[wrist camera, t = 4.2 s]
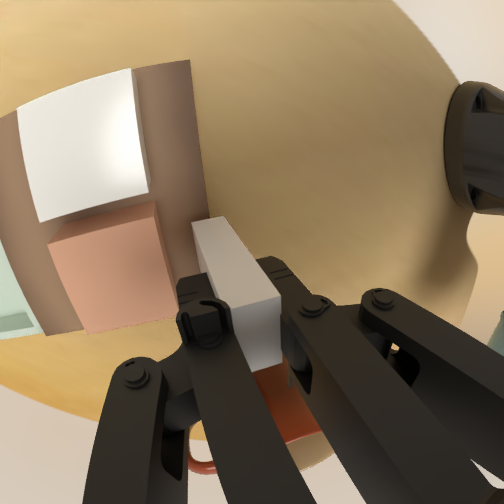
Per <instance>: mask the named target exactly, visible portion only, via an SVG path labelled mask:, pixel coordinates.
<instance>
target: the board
mask: <svg viewBox="0 0 504 504" xmlns="http://www.w3.org/2000/svg"><path fill="white" fill-rule="evenodd" d="M132 71H133V73H134V75H135V76H136V78H137V88H138V97H139V106H140V114H141V121H142V128H143V135H144V142H145V148H146V155H147V160H148V166H149V172H150V177H151V184H150V189H149V193H145V194H140V195H136V196H132V197H128V198H124V199H120V200H116V201H112V202H108V203H105V204H101V205H97V206H94V207H90V208H86V209H83V210H79V211H76V212H73V213H69V214H66V215H63V216H59V217H56V218H53V219H50V220H47V221H44V222H41V223H40V222H39V219H38V216H37V212H36V209H35V205H34V202H33V198H32V194H31V190H30V186H29V182H28V177H27V173H26V168H25V163H24V158H23V152H22V146H21V140H20V133H19V125H18V116H17V110H16V111H14V112H12V113H10V114H8V115H6V116H4V117H2V118H0V240H1V243H2V246H3V248H4V251H5V254H6V256H7V259H8V261H9V264H10V266H11V268H12V271H13V273H14V275H15V278H16V280H17V282H18V284H19V286H20V288H21V290H22V292H23V295H24V297H25V299H26V301H27V302H28V304H29V306H30V308H31V310H32V312H33V314H34V316H35V317H36V319H37V321H38V323H39V325H40V326H41V328H42V330H43V331H44V333H45V335H46V336H50V335H55V334H61V333H67V332H73V331H78V330H83V329H84V327H83V325H82V323H81V321H80V319H79V317H78V315H77V313H76V311H75V309H74V307H73V305H72V303H71V301H70V299H69V297H68V295H67V293H66V290H65V288H64V286H63V284H62V281H61V279H60V277H59V274H58V272H57V269H56V267H55V264H54V262H53V259H52V257H51V254H50V251H49V249H48V246H47V244H48V243H49V241H50V240H51V239H52V238H53V236H54V235H55V234H56V233H57V232H58V230H59V229H60V228H61V227H62V226H63V224H67V223H70V222H74V221H77V220H81V219H84V218H88V217H91V216H95V215H99V214H102V213H106V212H110V211H114V210H118V209H122V208H126V207H130V206H134V205H138V204H142V203H147V202H151V201H155V203H156V208H157V212H158V217H159V222H160V226H161V231H162V235H163V239H164V243H165V247H166V252H167V256H168V260H169V263H170V267H171V271H172V275H173V279H174V282H175V286H176V285H177V283H178V281H179V279H180V278H183V277H187V276H192V275H196V274H200V273H201V271H200V266H199V261H198V256H197V251H196V245H195V240H194V235H193V229H192V224H191V222H196V221H200V220H205V219H210V216H209V209H208V203H207V196H206V189H205V182H204V175H203V168H202V161H201V153H200V146H199V138H198V130H197V121H196V113H195V104H194V95H193V86H192V76H191V66H190V60H184V61H176V62H170V63H163V64H158V65H152V66H147V67H142V68H137V69H133V70H132ZM178 305H179V304H178Z"/></svg>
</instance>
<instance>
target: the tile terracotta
mask: <svg viewBox="0 0 504 504" xmlns="http://www.w3.org/2000/svg"><path fill="white" fill-rule="evenodd" d="M47 246H48V249H49V251H50V254H51V257H52V259H53V262H54V264H55V267H56V269H57V272H58V274H59V277H60V279H61V281H62V284H63V286H64V288H65V290H66V293H67V295H68V297H69V299H70V301H71V303H72V305H73V307H74V309H75V311H76V313H77V315H78V317H79V319H80V321H81V323H82V325H83V327H84V329H85V331H86V333H87V334H93V333H98V332H104V331H109V330H114V329H119V328H124V327H129V326H134V325H139V324H144V323H148V322H153V321H158V320H162V319H167V318H171V317H176V315H177V312H178V311H179V305H178V299H177V293H176V286H175V282H174V279H173V275H172V271H171V267H170V263H169V260H168V256H167V252H166V247H165V243H164V239H163V235H162V231H161V226H160V222H159V217H158V212H157V208H156V203H155V201H151V202H147V203H142V204H138V205H134V206H130V207H126V208H122V209H118V210H114V211H110V212H106V213H102V214H99V215H95V216H91V217H88V218H84V219H81V220H77V221H74V222H70V223H67V224H63V226H62V227H61V228H60V229H59V230H58V232H57V233H56V234H55V235H54V236H53V238H52V239H51V240H50V241H49V243H48V244H47Z"/></svg>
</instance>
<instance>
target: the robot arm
mask: <svg viewBox="0 0 504 504" xmlns="http://www.w3.org/2000/svg"><path fill="white" fill-rule="evenodd" d="M445 163H446V172H447V178H448V183H449V186H450V189H451V192H452V195H453V197H454V198H455V200H456V201H457V203H458V204H459V205H461V206H462V207H464V208H467V209H469V210H471V211H473V212H475V213H480V214H491V215H503V216H504V91H502V90H500V89H498V88H496V87H494V86H492V85H490V84H488V83H483V82H474V81H467V82H464V83H463V84H461V85H460V86H459V88H458V89H457V90H456V92H455V94H454V96H453V98H452V101H451V104H450V108H449V112H448V117H447V123H446V132H445ZM191 224H192V229H193V235H194V240H195V245H196V251H197V256H198V261H199V266H200V271H201V273H200V274H196V275H192V276H187V277H183V278H180V279H179V281H178V283H177V285H176V293H177V299H178V304H179V311H178V312H177V315H176V323H177V326H178V329H179V332H180V335H181V338H182V341H183V342H182V344H181V346H180V347H179V349H178V350H177V351H176V352H175V353H173V354H172V355H170V356H169V357H167V358H165V359H163V360H161V361H159V362H156V361H154V360H153V359H151V358H147V357H135V358H131V359H129V360H127V361H125V362H123V363H122V364H121V365H120V366H118V367H117V368H116V370H115V372H114V374H113V376H112V379H111V382H110V385H109V388H108V392H107V395H106V399H105V402H104V406H103V409H102V413H101V417H100V421H99V425H98V429H97V432H96V437H95V441H94V445H93V450H92V454H91V459H90V463H89V468H88V474H87V479H86V485H85V491H84V496H83V503H82V504H187V503H188V502H187V501H188V456H189V432H190V426H191V425H193V424H195V423H197V422H198V421H200V420H202V424H203V427H204V431H205V435H206V438H207V442H208V445H209V448H210V452H211V454H212V458H213V461H214V464H215V468H216V471H217V474H218V477H219V479H220V483H221V486H222V488H223V491H224V494H225V497H226V500H227V502H228V504H317V503H316V501H315V499H314V498H313V496H312V494H311V492H310V490H309V488H308V486H307V485H306V483H305V481H304V479H303V477H302V475H301V473H300V471H299V469H298V467H297V466H296V464H295V462H294V460H293V458H292V456H291V454H290V452H289V450H288V448H287V446H286V444H285V442H284V440H283V438H282V436H281V434H280V432H279V430H278V427H277V425H276V423H275V421H274V419H273V417H272V415H271V413H270V411H269V409H268V407H267V404H266V402H265V400H264V398H263V396H262V394H261V391H260V389H259V387H258V385H257V383H256V380H255V378H254V376H253V374H252V372H254V371H257V370H260V369H264V368H267V367H270V366H273V365H276V364H279V363H282V352H283V354H284V355H285V357H286V359H287V360H288V385H289V388H292V387H293V382H294V383H295V385H296V387H297V389H298V390H299V392H300V394H301V396H302V397H303V399H304V401H305V403H306V404H307V406H308V408H309V410H310V411H311V413H312V415H313V416H314V418H315V420H316V422H317V423H318V425H319V427H320V428H321V430H322V432H323V433H324V435H325V437H326V438H327V440H328V442H329V444H330V445H331V447H332V449H333V450H334V452H335V453H336V455H337V457H338V458H339V460H340V462H341V463H342V465H343V467H344V468H345V470H346V472H347V473H348V475H349V476H350V478H351V480H352V481H353V483H354V485H355V486H356V487H357V489H358V491H359V493H360V494H361V496H362V497H363V499H364V500H365V502H366V504H504V489H498V488H496V487H493V486H492V485H491V484H490V483H489V482H488V480H487V479H486V478H485V477H484V475H483V474H482V473H481V472H480V470H479V469H478V468H477V467H476V465H475V464H474V463H473V462H472V461H471V459H472V460H473V461H474V462H476V463H477V464H479V465H480V466H482V467H483V468H484V469H486V470H487V471H489V472H490V473H492V474H493V475H495V476H496V477H498V478H499V479H501V480H502V481H504V311H503V312H502V313H501V319H500V321H499V323H498V325H497V327H496V329H495V330H494V332H493V334H492V336H491V338H490V340H489V342H488V344H487V346H486V345H485V344H483V343H481V342H479V341H478V340H476V339H475V338H473V337H472V336H470V335H468V334H467V333H465V332H463V331H462V330H460V329H458V328H457V327H455V326H453V325H451V324H450V323H448V322H446V321H445V320H443V319H441V318H440V317H438V316H436V315H434V314H433V313H431V312H429V311H428V310H426V309H424V308H422V307H421V306H419V305H417V304H415V303H414V302H412V301H410V300H408V299H406V298H405V297H403V296H401V295H399V294H398V293H396V292H394V291H391V290H389V289H383V288H376V289H371V290H368V291H366V292H365V293H364V294H363V295H362V299H361V304H354V305H344V306H336V305H335V304H334V303H333V302H332V301H331V300H329V299H328V298H326V297H323V296H320V295H312V294H311V293H310V291H309V290H308V289H307V288H306V287H305V286H304V285H303V284H302V282H301V281H300V280H299V279H298V278H297V277H296V276H295V275H294V273H293V272H292V271H291V270H290V269H289V268H288V267H287V265H286V264H285V263H284V262H283V261H282V260H280V259H278V258H275V257H273V256H269V257H265V258H260V259H256V260H255V259H254V258H253V256H252V255H251V253H250V252H249V251H248V249H247V248H246V246H245V245H244V244H243V242H242V241H241V240H240V238H239V237H238V235H237V234H236V233H235V231H234V230H233V228H232V227H231V226H230V224H229V223H228V221H227V220H226V219H225V217H224V216H220V217H215V218H210V219H205V220H200V221H196V222H191ZM392 343H394V344H395V345H397V346H398V347H399V350H393V349H391V346H392Z"/></svg>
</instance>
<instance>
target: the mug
mask: <svg viewBox="0 0 504 504" xmlns="http://www.w3.org/2000/svg"><path fill="white" fill-rule="evenodd" d="M252 374H253V376H254V378H255V380H256V383H257V385H258V387H259V389H260V391H261V394H262V396H263V398H264V400H265V402H266V404H267V407H268V409H269V411H270V413H271V415H272V417H273V419H274V421H275V423H276V425H277V427H278V430H279V432H280V434H281V436H282V438H283V440H284V442H285V444H286V446H287V448H288V450H289V452H290V454H291V456H292V458H293V460H294V462H295V464H296V466H297V467H298V469H299V471H300V472H302V471H304V470H306V469H308V468H310V467H312V466H314V465H316V464H317V463H320V462H321V461H323V460H325V459H326V458H328V457H329V456H331V455H332V454H333V453H335V452H334V450H333V449H332V447H331V445H330V444H329V442H328V440H327V438H326V437H325V435H324V433H323V432H322V430H321V428H320V427H319V425H318V423H317V422H316V420H315V418H314V416H313V415H312V413H311V411H310V410H309V408H308V406H307V404H306V403H305V401H304V399H303V397H302V396H301V394H300V392H299V390H298V389H297V387H296V385H295V383H294V382H293V387H292V388H289V385H288V360H287V359H286V357H285V355H284V354H283V352H282V363H279V364H276V365H273V366H270V367H267V368H264V369H260V370H257V371H254V372H252ZM195 424H196V423H195ZM195 424H193V425H191V426H190V432H191V429H192V427H193V426H194V425H195ZM190 432H189V438H190ZM189 445H190V444H189ZM188 469H189V470H191V471H192V472H195V473H199V474H205V475H207V474H217V471H216V468H215V464H214V461H209V462H200V461H196V460H195V459H193V457H192V456H191V452H190V446H189V456H188Z"/></svg>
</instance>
